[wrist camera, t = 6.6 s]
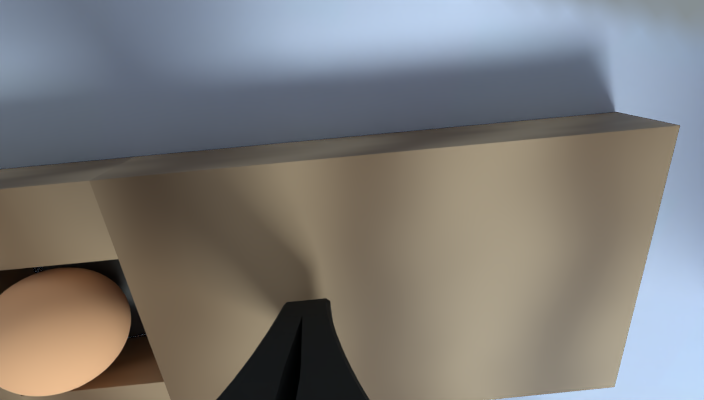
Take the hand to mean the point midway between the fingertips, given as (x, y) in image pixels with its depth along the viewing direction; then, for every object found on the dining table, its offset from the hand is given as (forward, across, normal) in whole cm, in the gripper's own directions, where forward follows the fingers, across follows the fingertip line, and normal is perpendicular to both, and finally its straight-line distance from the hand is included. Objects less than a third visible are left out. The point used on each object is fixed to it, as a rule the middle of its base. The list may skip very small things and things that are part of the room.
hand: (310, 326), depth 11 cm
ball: (+1, +8, 0) cm, 8 cm away
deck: (+3, +1, 0) cm, 3 cm away
